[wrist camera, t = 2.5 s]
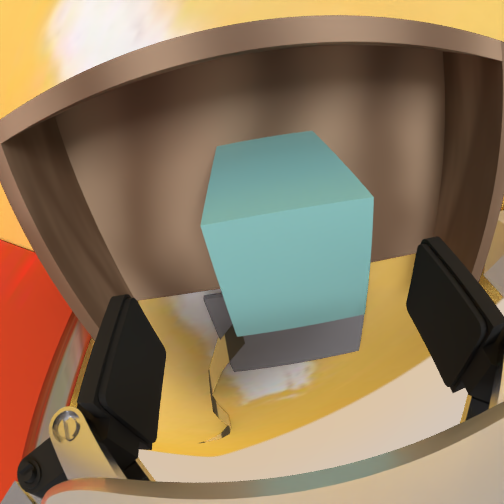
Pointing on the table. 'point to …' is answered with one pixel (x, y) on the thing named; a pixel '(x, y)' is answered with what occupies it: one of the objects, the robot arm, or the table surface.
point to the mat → (287, 340)
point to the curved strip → (219, 361)
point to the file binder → (32, 356)
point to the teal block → (287, 233)
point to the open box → (248, 128)
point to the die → (496, 257)
